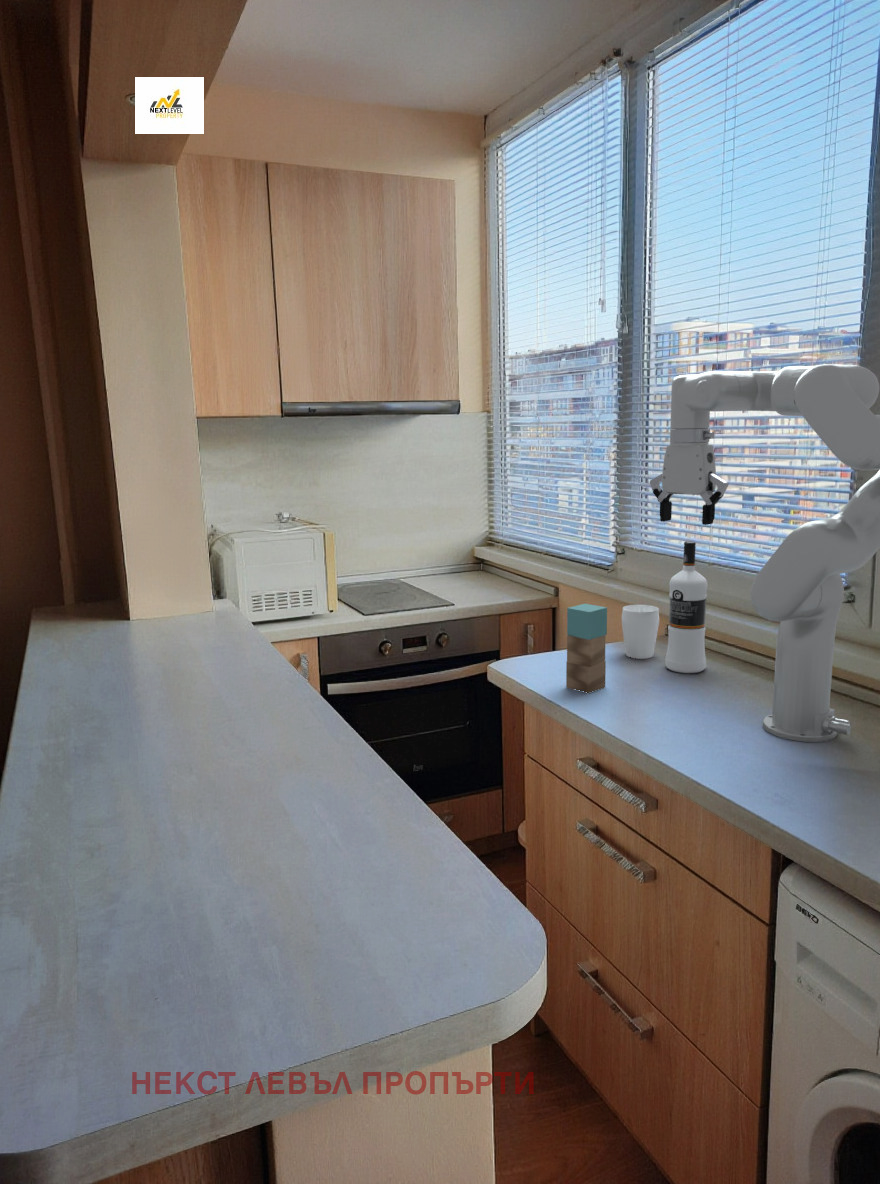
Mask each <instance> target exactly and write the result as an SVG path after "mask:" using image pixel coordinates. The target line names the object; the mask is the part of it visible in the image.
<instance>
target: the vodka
mask: <svg viewBox="0 0 880 1184" xmlns="http://www.w3.org/2000/svg"><path fill="white" fill-rule="evenodd" d="M696 545H697V542H696V541H692V540H688V541H684V542H683V558H682V559H683V563H682V564H683V566H682V570H680V571H678V572H677V573H676V574H675V575H673V576H672V577H670V581H669V585H668V588H669V593H668V595H669V611H668V612H669V616H668V625H667V628H668V640H667V648H666V654H665V657H664V658H665V659H664V664H665V665H664V666H666V667H665V668H667V669H669V670H670V671H672V672H675V673H680V674H697V673H701V672H702V671H704V670H705V669H706V667H707V657H706V648H705V644H706V643H705V635H706V630H707V628H706V607H707V597H708V594H707V591H708V581H707V579H706V577H704V576H703V575H702V574H701V573H699V572H698V571H696V547H697V546H696Z"/></svg>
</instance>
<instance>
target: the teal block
mask: <svg viewBox="0 0 880 1184" xmlns="http://www.w3.org/2000/svg"><path fill="white" fill-rule="evenodd" d="M566 610H567V611H566V612H567V617H566V620H567V623H566V624H567V625H566V626H567V628H566V636H567V635H570V636H574V637H579V638H583V639H588V640H590V639H594V638H597V637H600V636H604V635H606V636H607V633H608V607H607V606H606V607H605V606H600V605H595V604H590V603H589V604H588V603H582V604H578V605H573V606H569V607H567V609H566Z"/></svg>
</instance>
